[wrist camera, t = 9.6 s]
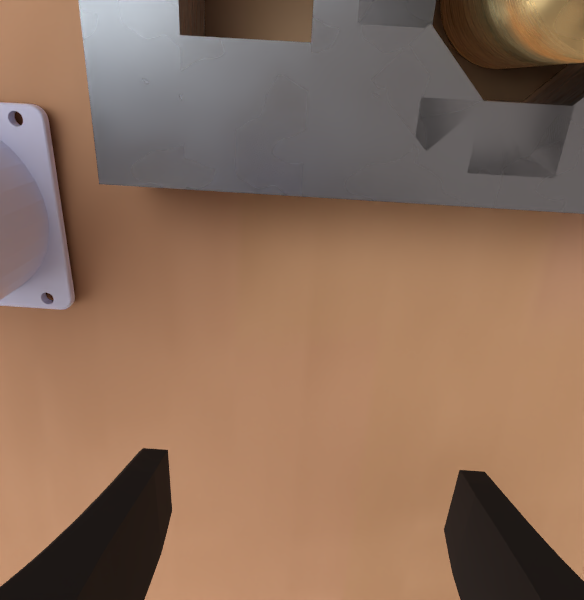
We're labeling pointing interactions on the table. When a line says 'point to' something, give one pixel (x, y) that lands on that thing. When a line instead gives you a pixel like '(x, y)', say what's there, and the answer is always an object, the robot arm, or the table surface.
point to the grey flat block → (322, 111)
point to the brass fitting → (515, 31)
